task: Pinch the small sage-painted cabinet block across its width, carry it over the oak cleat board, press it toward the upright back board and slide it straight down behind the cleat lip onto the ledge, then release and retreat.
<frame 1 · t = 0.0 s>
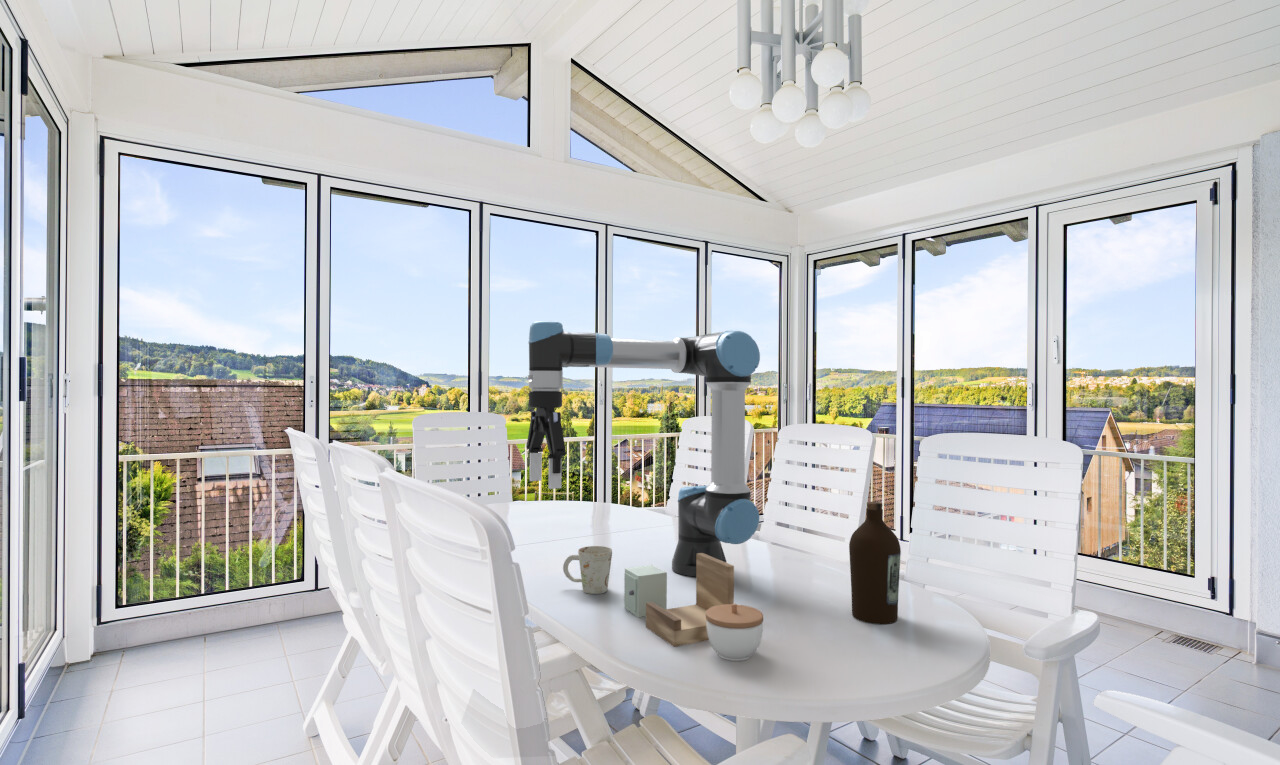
hand: (544, 484, 151), 28 cm above the table, fingers open, 13 cm apart
mug: (586, 590, 165), on the table
cleat board: (688, 631, 137), on the table
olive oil: (874, 618, 146), on the table
cabinet block: (645, 610, 150), on the table
lidded jar: (734, 655, 125), on the table
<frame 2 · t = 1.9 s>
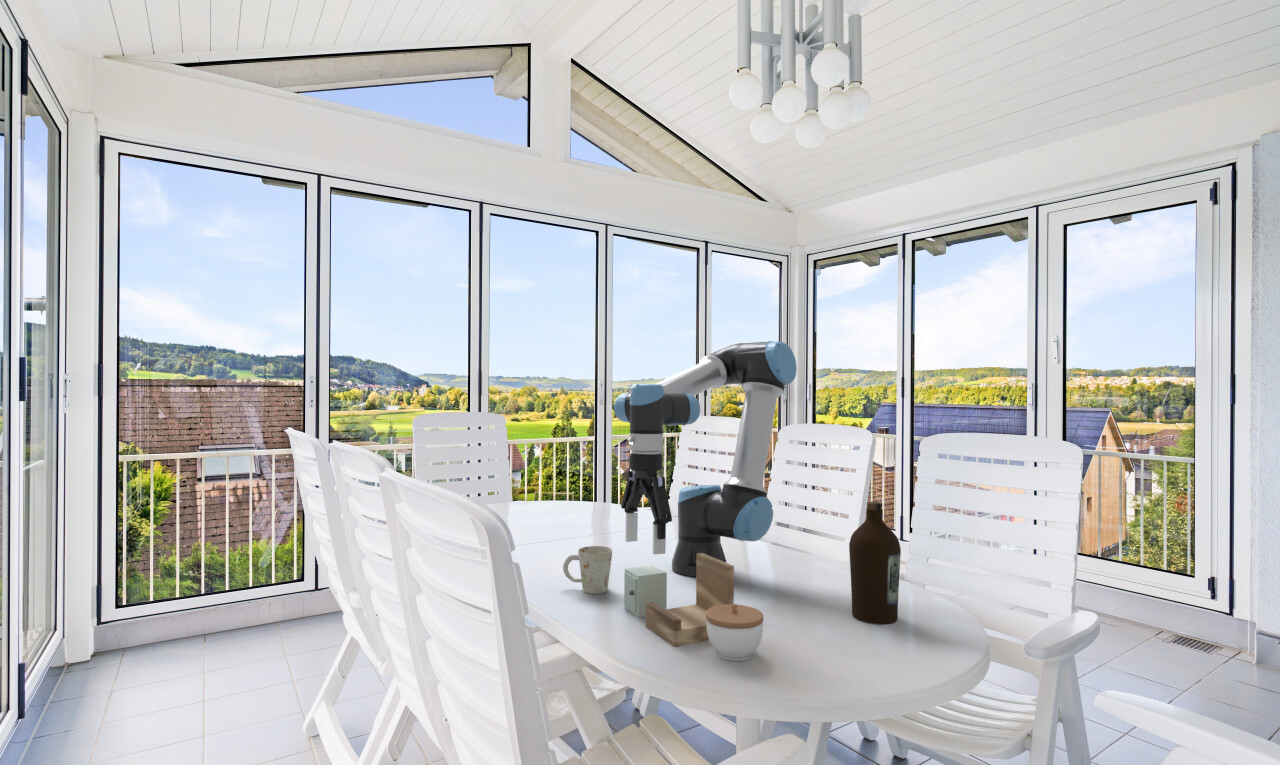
hand: (644, 547, 150), 14 cm above the table, fingers open, 13 cm apart
nothing on the table moved.
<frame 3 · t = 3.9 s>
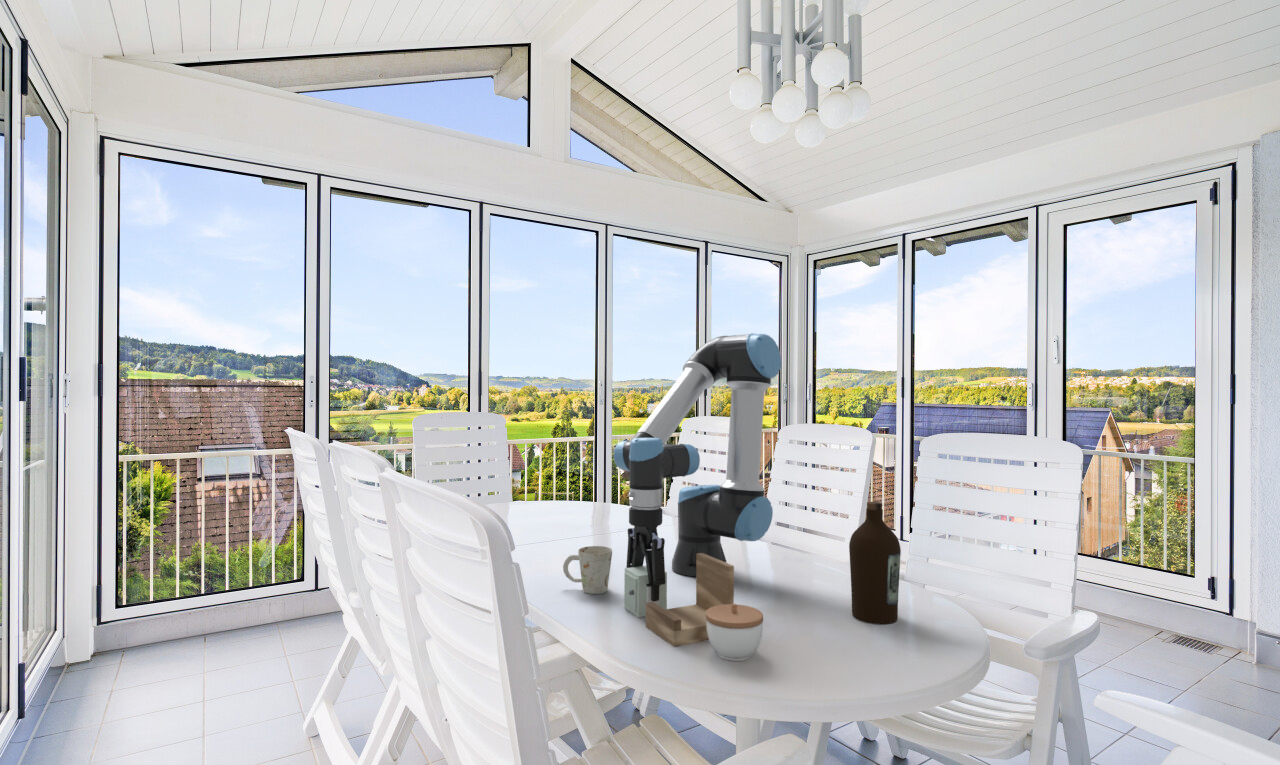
hand: (644, 609, 150), 0 cm above the table, fingers closed on cabinet block, 7 cm apart
cabinet block: (645, 610, 150), on the table, touching gripper
everything else where it was.
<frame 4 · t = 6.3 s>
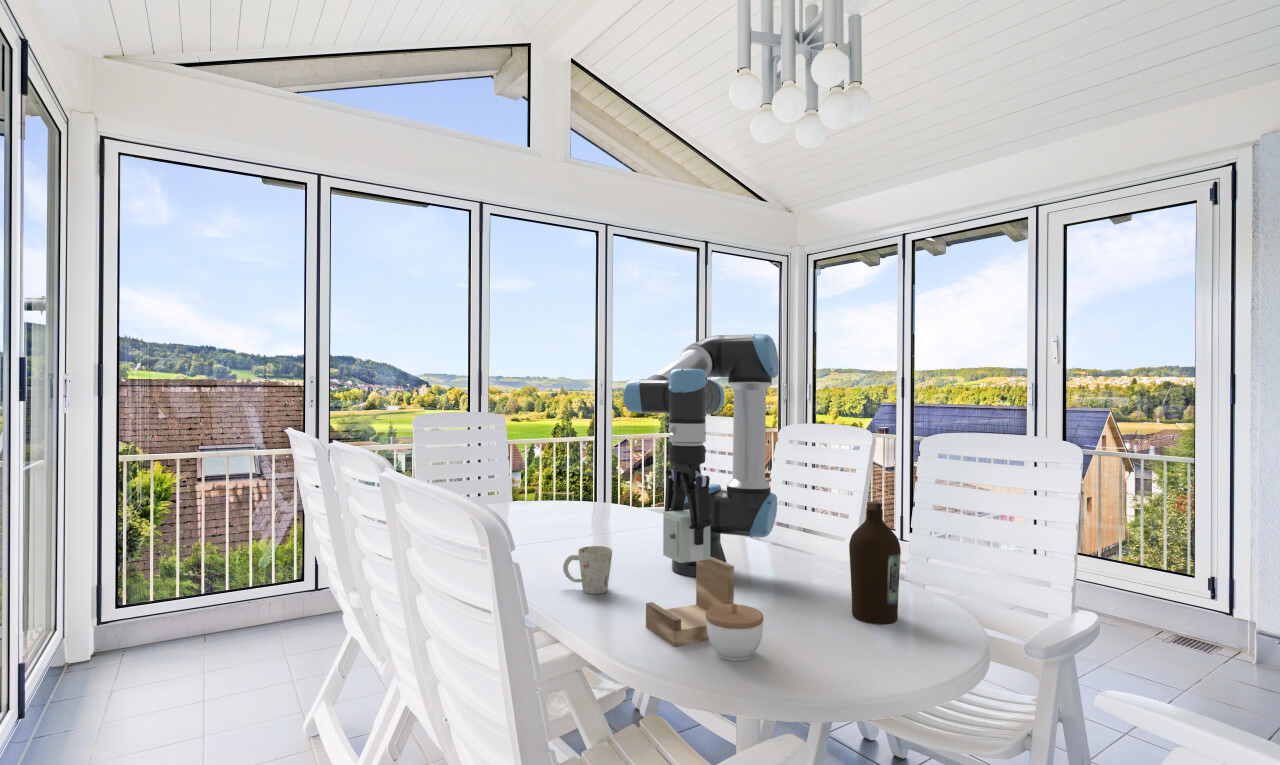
hand: (686, 556, 137), 15 cm above the table, fingers closed on cabinet block, 7 cm apart
cabinet block: (686, 557, 137), point 15 cm above the table, touching gripper
everything else where it was.
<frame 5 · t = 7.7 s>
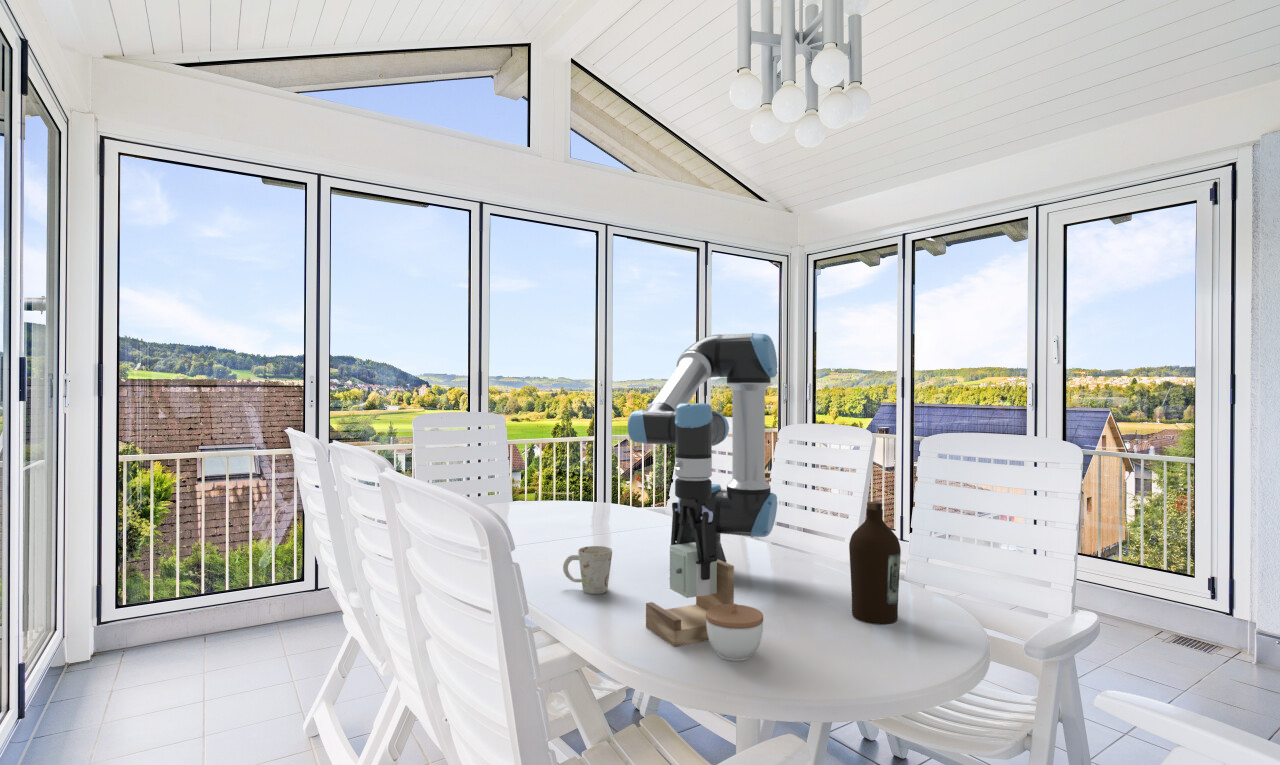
hand: (692, 589, 137), 8 cm above the table, fingers closed on cabinet block, 7 cm apart
cabinet block: (693, 590, 137), point 8 cm above the table, touching gripper
everything else where it was.
when the fingers open (4 cm above the table, at t = 8.9 s): cabinet block stays where it is, resting on cleat board.
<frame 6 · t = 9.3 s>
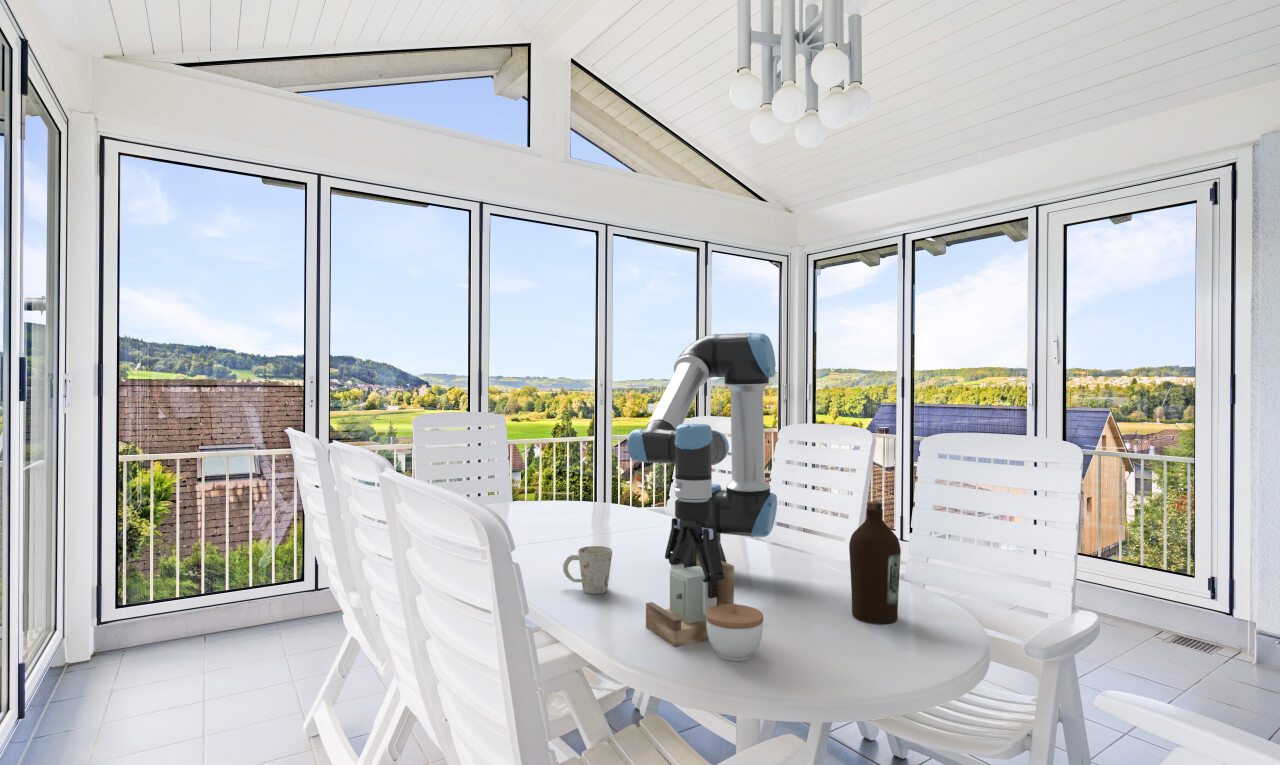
hand: (692, 604, 137), 5 cm above the table, fingers open, 12 cm apart
cabinet block: (692, 615, 137), point 3 cm above the table, touching cleat board
everything else where it was.
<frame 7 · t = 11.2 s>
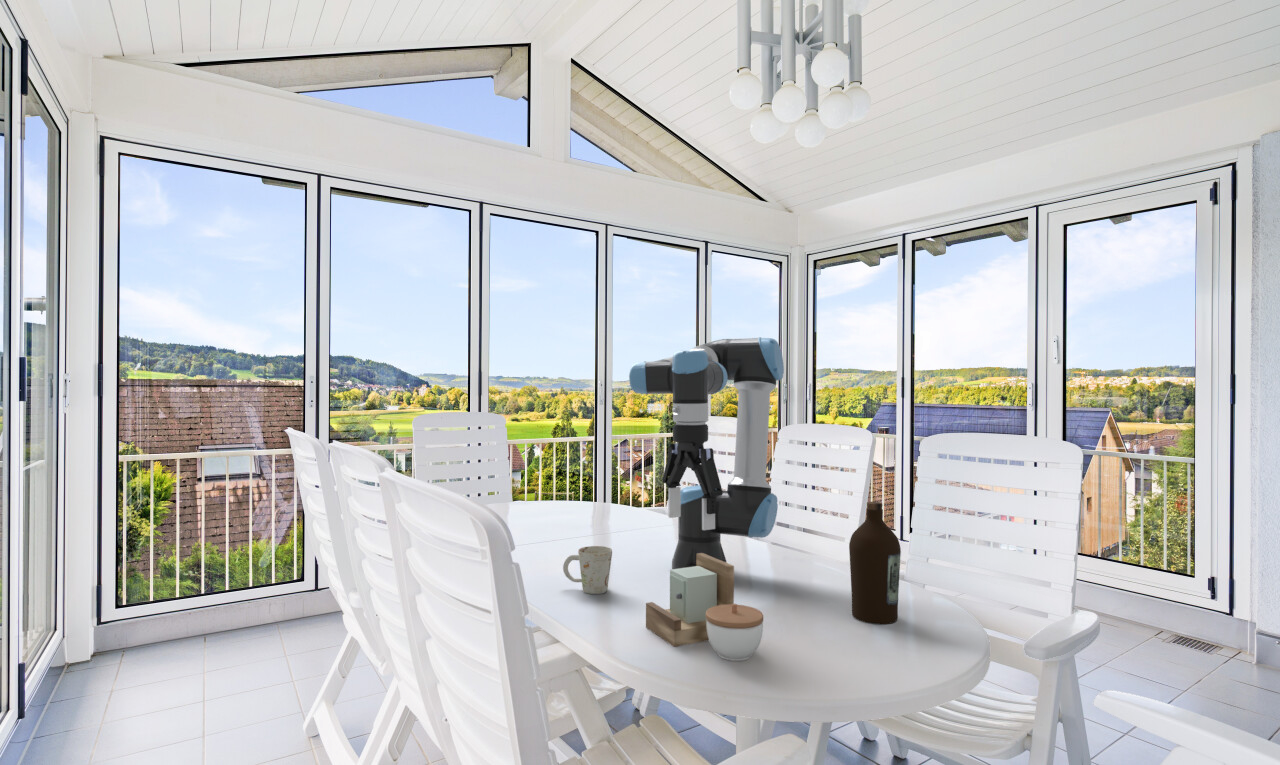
hand: (690, 523, 142), 21 cm above the table, fingers open, 13 cm apart
nothing on the table moved.
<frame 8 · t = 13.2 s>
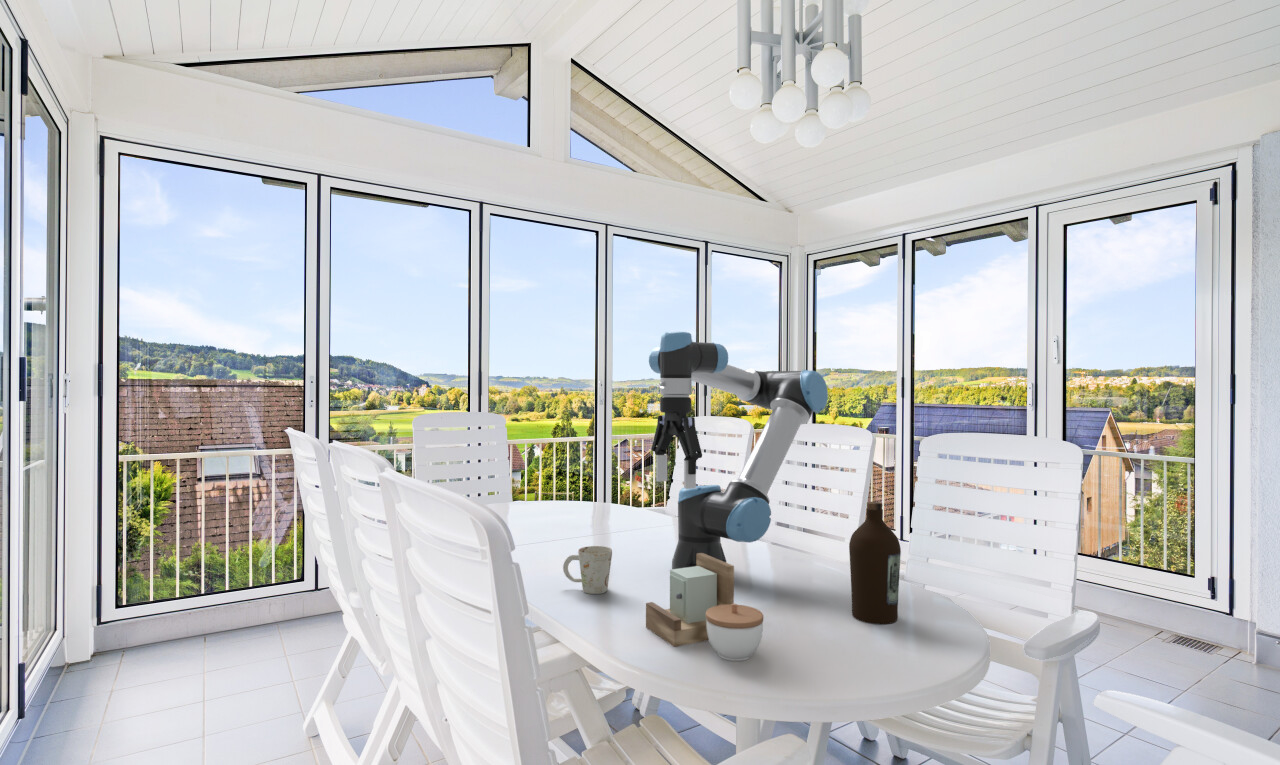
hand: (675, 484, 160), 27 cm above the table, fingers open, 13 cm apart
nothing on the table moved.
at the end: cabinet block inside the target area on the cleat board (1.1 cm from its centre), point 3.0 cm above the cleat board's base; cabinet block tilted 0°; the gripper is holding nothing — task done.
